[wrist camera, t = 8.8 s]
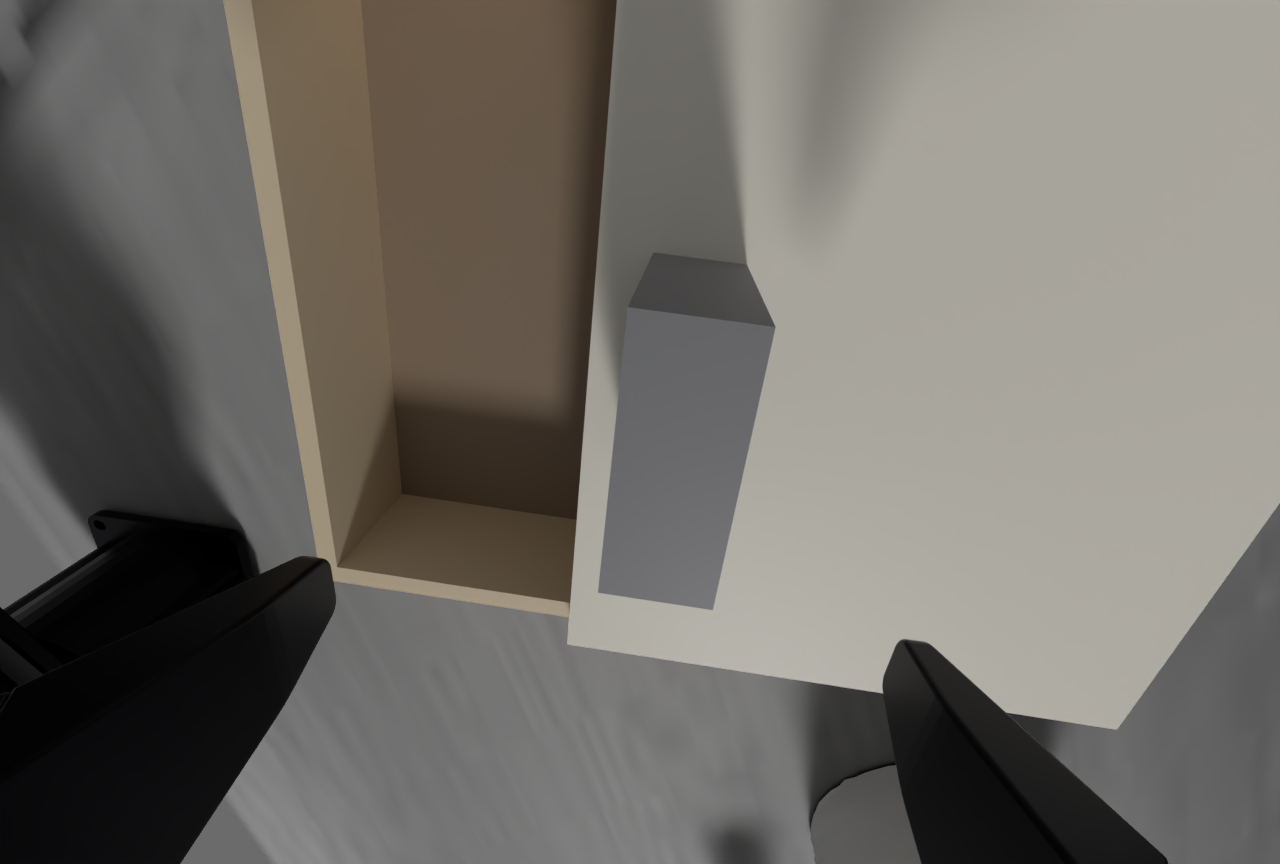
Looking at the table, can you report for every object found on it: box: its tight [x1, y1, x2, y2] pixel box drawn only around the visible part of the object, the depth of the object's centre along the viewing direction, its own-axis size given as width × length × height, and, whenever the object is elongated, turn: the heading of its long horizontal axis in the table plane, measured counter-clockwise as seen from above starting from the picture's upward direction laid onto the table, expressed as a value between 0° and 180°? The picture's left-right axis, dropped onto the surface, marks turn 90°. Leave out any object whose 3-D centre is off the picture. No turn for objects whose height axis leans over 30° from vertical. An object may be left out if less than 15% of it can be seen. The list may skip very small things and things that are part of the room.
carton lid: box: [567, 0, 1280, 730], centre depth 11 cm, size 16×18×6 cm
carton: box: [223, 0, 617, 617], centre depth 16 cm, size 16×18×5 cm
